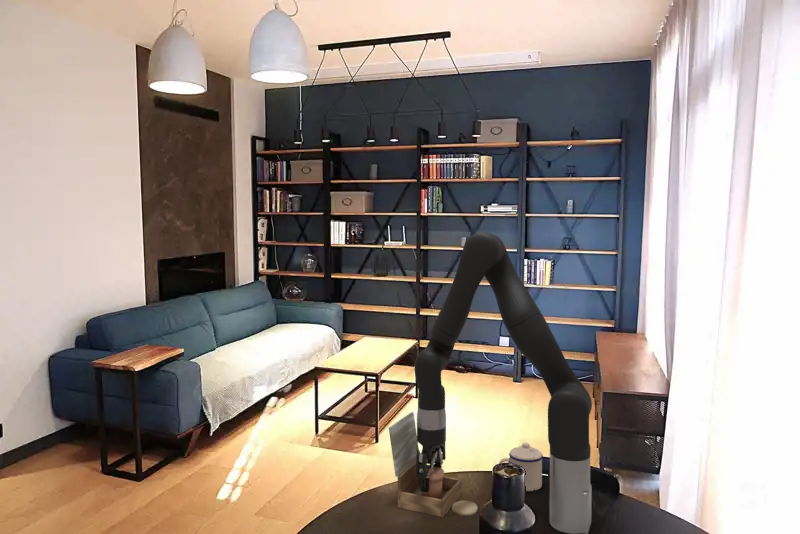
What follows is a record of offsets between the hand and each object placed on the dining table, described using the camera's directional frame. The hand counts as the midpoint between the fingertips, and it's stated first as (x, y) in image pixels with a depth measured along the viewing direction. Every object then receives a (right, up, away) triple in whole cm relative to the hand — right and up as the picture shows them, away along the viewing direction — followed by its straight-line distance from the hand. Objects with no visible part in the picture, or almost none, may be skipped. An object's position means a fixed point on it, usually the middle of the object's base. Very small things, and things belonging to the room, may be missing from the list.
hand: (431, 484), depth 152 cm
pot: (0, -4, 0) cm, 4 cm away
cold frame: (-1, -4, +1) cm, 5 cm away
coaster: (+8, -5, -5) cm, 10 cm away
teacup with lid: (+25, -4, +9) cm, 27 cm away
